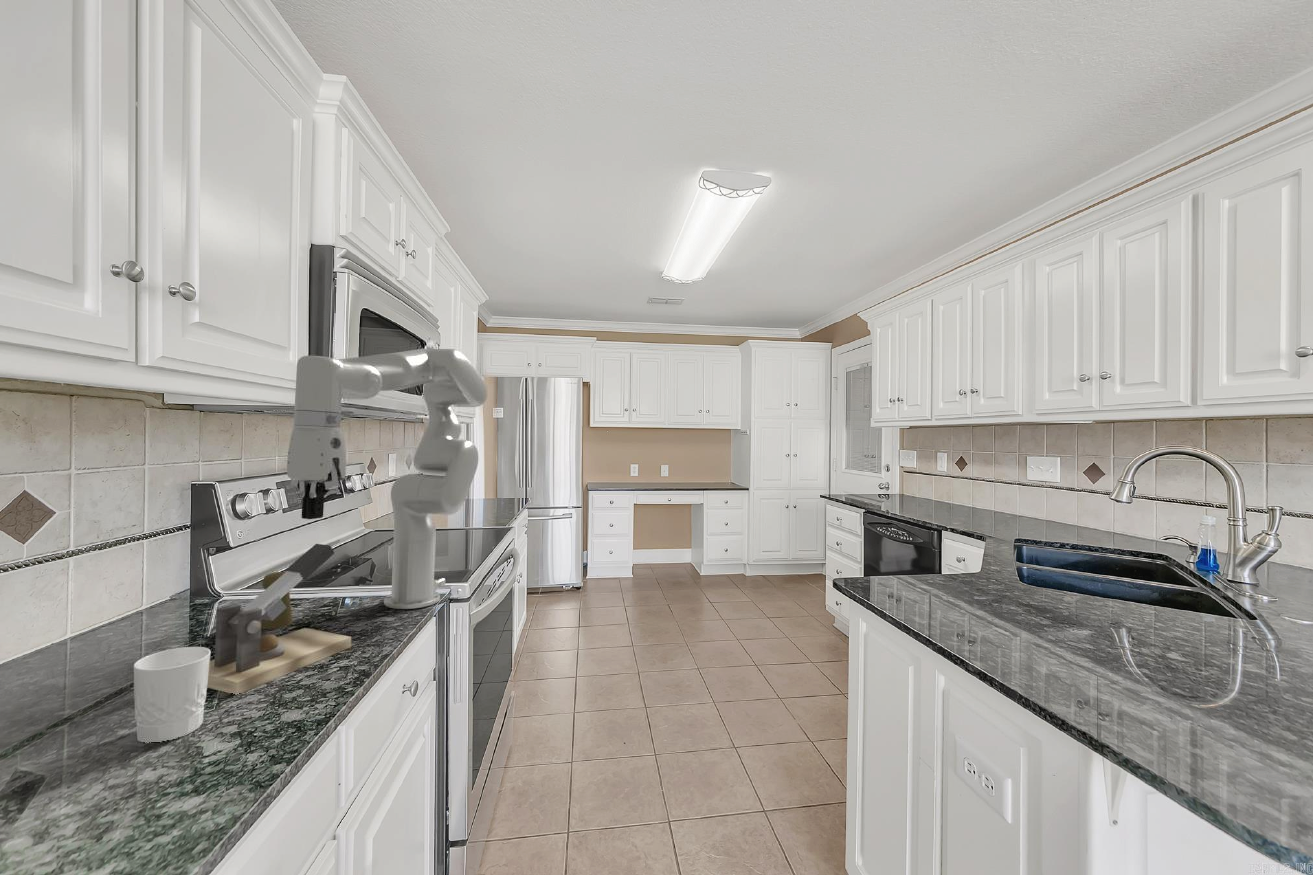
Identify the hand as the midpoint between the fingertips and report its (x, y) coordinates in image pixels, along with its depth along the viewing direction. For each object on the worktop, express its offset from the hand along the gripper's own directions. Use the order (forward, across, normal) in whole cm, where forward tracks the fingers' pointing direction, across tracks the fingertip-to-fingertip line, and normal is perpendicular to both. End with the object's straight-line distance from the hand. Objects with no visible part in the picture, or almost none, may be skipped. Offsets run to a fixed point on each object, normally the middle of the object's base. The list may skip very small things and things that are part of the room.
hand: (312, 517), depth 101 cm
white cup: (+26, -8, +26) cm, 38 cm away
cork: (+25, +18, -8) cm, 32 cm away
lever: (+14, 0, +3) cm, 14 cm away
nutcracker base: (+25, 0, +6) cm, 26 cm away
